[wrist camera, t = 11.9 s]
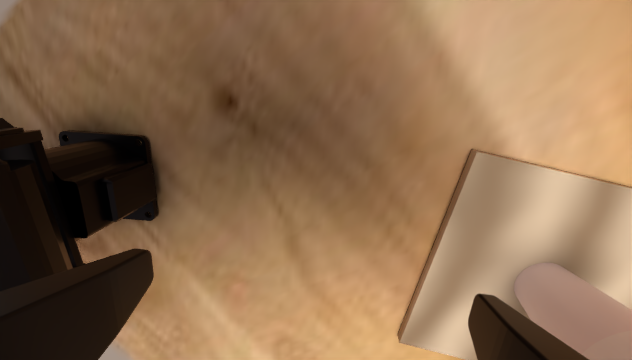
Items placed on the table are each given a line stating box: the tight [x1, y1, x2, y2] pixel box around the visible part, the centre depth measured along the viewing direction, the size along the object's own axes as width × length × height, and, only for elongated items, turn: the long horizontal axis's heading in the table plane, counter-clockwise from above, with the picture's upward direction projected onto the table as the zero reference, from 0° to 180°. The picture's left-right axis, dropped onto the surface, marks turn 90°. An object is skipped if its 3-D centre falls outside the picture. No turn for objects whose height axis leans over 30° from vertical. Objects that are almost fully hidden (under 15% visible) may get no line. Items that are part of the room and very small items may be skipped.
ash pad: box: [398, 149, 632, 360], centre depth 21 cm, size 16×16×1 cm
